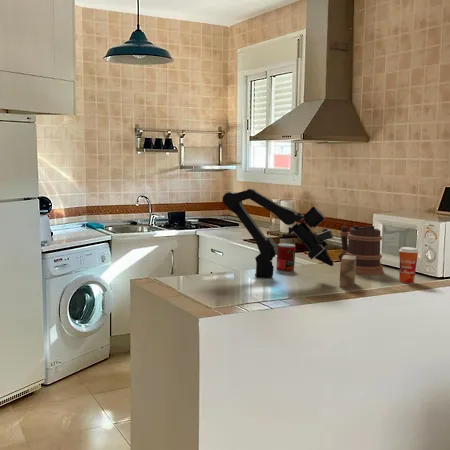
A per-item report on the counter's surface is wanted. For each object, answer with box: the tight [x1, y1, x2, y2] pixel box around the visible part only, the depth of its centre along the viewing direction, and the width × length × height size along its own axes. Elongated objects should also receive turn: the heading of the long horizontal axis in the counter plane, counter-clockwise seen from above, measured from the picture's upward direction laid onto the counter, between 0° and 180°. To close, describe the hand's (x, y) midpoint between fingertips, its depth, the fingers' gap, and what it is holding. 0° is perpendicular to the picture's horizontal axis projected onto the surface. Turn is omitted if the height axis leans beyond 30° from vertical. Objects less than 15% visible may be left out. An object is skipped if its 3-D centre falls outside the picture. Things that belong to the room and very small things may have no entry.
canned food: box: [275, 242, 296, 272], centre depth 256 cm, size 8×8×11 cm
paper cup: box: [398, 246, 420, 284], centre depth 239 cm, size 8×8×14 cm
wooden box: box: [339, 255, 356, 289], centre depth 228 cm, size 5×10×11 cm, turn 164°
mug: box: [337, 225, 385, 276], centre depth 262 cm, size 18×23×20 cm
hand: (332, 265), depth 230 cm, fingers closed
